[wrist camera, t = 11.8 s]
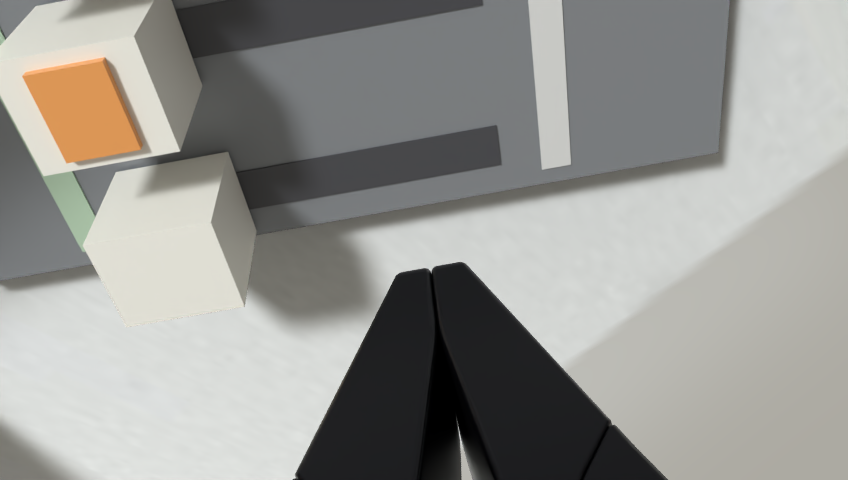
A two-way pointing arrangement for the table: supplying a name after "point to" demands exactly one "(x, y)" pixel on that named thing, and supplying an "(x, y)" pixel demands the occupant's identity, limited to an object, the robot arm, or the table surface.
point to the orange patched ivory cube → (99, 82)
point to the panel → (399, 107)
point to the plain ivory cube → (174, 240)
